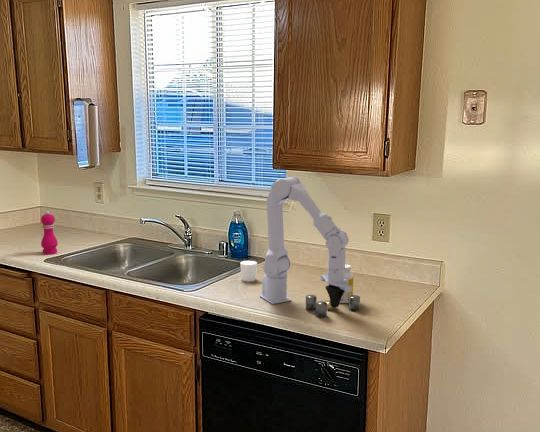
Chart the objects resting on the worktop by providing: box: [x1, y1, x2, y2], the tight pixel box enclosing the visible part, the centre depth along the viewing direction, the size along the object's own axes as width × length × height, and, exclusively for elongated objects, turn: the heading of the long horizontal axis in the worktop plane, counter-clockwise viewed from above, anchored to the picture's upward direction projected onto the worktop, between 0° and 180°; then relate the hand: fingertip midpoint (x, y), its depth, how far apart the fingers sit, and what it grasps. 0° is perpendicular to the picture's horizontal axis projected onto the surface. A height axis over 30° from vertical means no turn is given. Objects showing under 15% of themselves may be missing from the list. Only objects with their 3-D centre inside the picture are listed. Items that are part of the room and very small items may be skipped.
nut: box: [324, 299, 337, 311], centre depth 188 cm, size 4×4×2 cm
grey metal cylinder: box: [348, 294, 361, 312], centre depth 187 cm, size 4×4×4 cm
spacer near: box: [305, 294, 317, 312], centre depth 186 cm, size 4×4×4 cm
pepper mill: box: [40, 210, 59, 256], centre depth 255 cm, size 7×7×20 cm
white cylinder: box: [239, 260, 258, 283], centre depth 219 cm, size 7×7×7 cm
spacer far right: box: [315, 300, 328, 319], centre depth 180 cm, size 4×4×4 cm
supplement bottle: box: [339, 263, 354, 304], centre depth 194 cm, size 7×7×13 cm
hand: (335, 306), depth 185 cm, fingers closed
